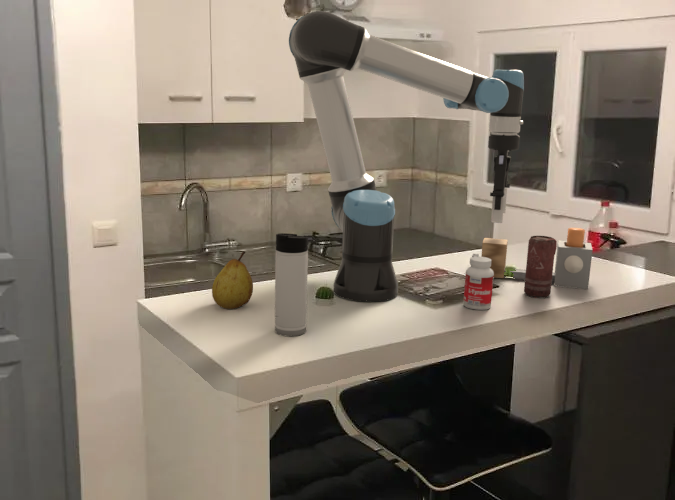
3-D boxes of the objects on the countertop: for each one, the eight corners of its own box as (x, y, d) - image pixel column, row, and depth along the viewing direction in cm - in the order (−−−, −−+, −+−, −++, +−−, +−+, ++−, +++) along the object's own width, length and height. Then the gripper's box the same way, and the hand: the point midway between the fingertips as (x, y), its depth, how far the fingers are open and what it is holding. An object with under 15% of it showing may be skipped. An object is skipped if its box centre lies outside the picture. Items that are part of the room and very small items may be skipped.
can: (552, 299, 171) (558, 241, 168) (524, 297, 172) (529, 239, 169) (550, 292, 177) (556, 235, 173) (523, 290, 178) (528, 234, 175)
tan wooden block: (479, 276, 188) (482, 242, 186) (481, 270, 194) (484, 237, 191) (503, 278, 186) (506, 244, 184) (504, 272, 192) (507, 239, 190)
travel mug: (267, 332, 144) (267, 233, 139) (287, 323, 149) (289, 227, 144) (292, 339, 140) (294, 238, 136) (312, 330, 146) (314, 232, 141)
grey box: (554, 286, 182) (558, 247, 180) (554, 277, 190) (557, 240, 187) (588, 289, 180) (592, 250, 178) (586, 280, 188) (590, 243, 185)
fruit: (207, 310, 156) (206, 256, 153) (219, 298, 164) (219, 246, 161) (246, 313, 154) (246, 258, 152) (257, 301, 163) (257, 248, 160)
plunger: (565, 255, 182) (568, 230, 180) (565, 252, 186) (567, 227, 184) (582, 257, 181) (585, 231, 179) (581, 253, 185) (584, 228, 183)
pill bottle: (464, 309, 161) (467, 261, 159) (462, 301, 167) (465, 254, 165) (492, 311, 161) (496, 263, 158) (489, 303, 167) (493, 256, 164)
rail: (470, 274, 190) (471, 256, 189) (471, 272, 193) (473, 253, 192) (554, 283, 185) (556, 264, 184) (554, 280, 188) (556, 261, 186)
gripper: (518, 138, 169) (511, 228, 174) (521, 130, 192) (515, 210, 197) (485, 136, 171) (479, 225, 176) (492, 129, 194) (487, 208, 199)
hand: (498, 217), depth 186 cm, fingers open, 13 cm apart
